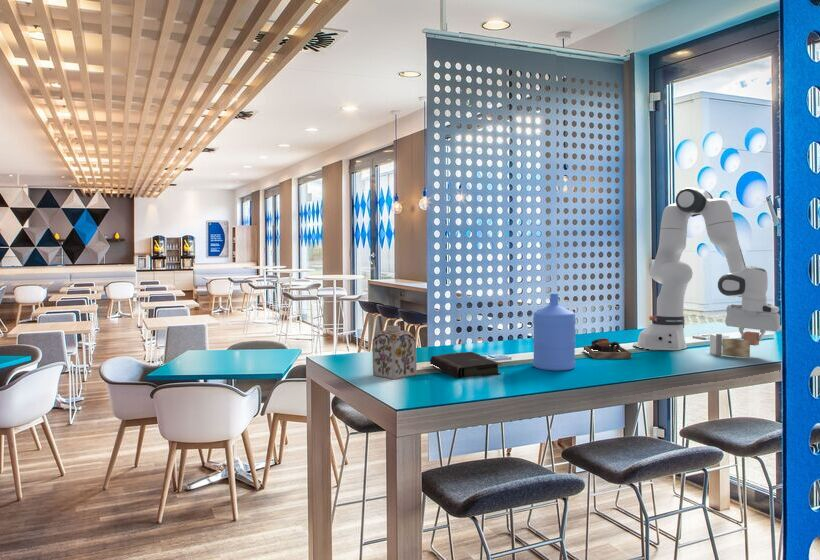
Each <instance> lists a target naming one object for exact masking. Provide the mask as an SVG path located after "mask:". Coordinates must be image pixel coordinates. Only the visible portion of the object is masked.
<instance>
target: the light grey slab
mask: <svg viewBox="0 0 820 560" xmlns="http://www.w3.org/2000/svg"><path fill="white" fill-rule="evenodd" d="M722 338H723V334H721V333H715V334H714V333H710V334H709V353H710V354H712V355H714V356H716V357H722V356H723V355H722Z"/></svg>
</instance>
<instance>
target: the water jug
mask: <svg viewBox="0 0 820 560" xmlns="http://www.w3.org/2000/svg"><path fill="white" fill-rule="evenodd" d="M549 296H550V297H549V305H546V306H544V307H542V308H539V309H538V310H536V311H534V312H533V319H532V324H533V339H532V345H533V359H532V365H533V367H535V368H536V369H539V370H542V371H543V370H544V371H551V372H552V371H554V372H555V371H556V372H562V371H569V370H573V369H574V368H575V367H576V360H575V359H576V358H575V357H576V356H575V353H576V350H575V348H576V327H575V326H576V314H575V312H574V311H572V310H570V309H568V308H566V307H564V306H561V305H560V304H559V293H550V294H549Z"/></svg>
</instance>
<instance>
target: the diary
mask: <svg viewBox="0 0 820 560" xmlns="http://www.w3.org/2000/svg"><path fill="white" fill-rule="evenodd" d="M429 361H430V362H429V363H430V365H431V364H433V365H435V366H437V367H439V368H440V369H441V370H442V371H441V370H440V371H441V372H443V373H445V374H447V375H449V376H451V377H454V378H456V379H460V378H462V379H463V378H472V377H490V376H499V375H501V374H502V372H499V365H502V363H500V362H498V361H495V360H492V359H489V358H486V357H485V356H482V355H481V354H480V353H476V352H473V351H465V352H452V353H445V354H438V355H432V356H431V358H430V360H429Z"/></svg>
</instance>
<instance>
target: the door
mask: <svg viewBox="0 0 820 560" xmlns="http://www.w3.org/2000/svg"><path fill="white" fill-rule="evenodd" d="M722 356H724V357H725V356H726V357H734V358H735V357H736V358H746V359H750V358H751V345H750V340H744V339H741V338H740V339H737V338H736V339H735V338H727V337H722Z"/></svg>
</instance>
